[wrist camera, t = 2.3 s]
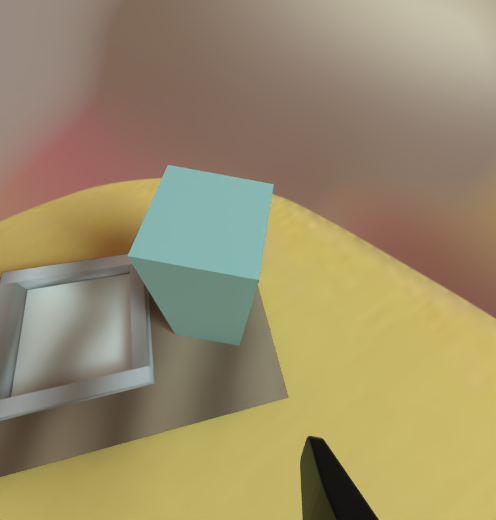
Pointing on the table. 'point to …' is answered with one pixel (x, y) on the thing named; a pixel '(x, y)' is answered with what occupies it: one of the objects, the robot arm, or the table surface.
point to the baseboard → (112, 364)
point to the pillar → (203, 251)
